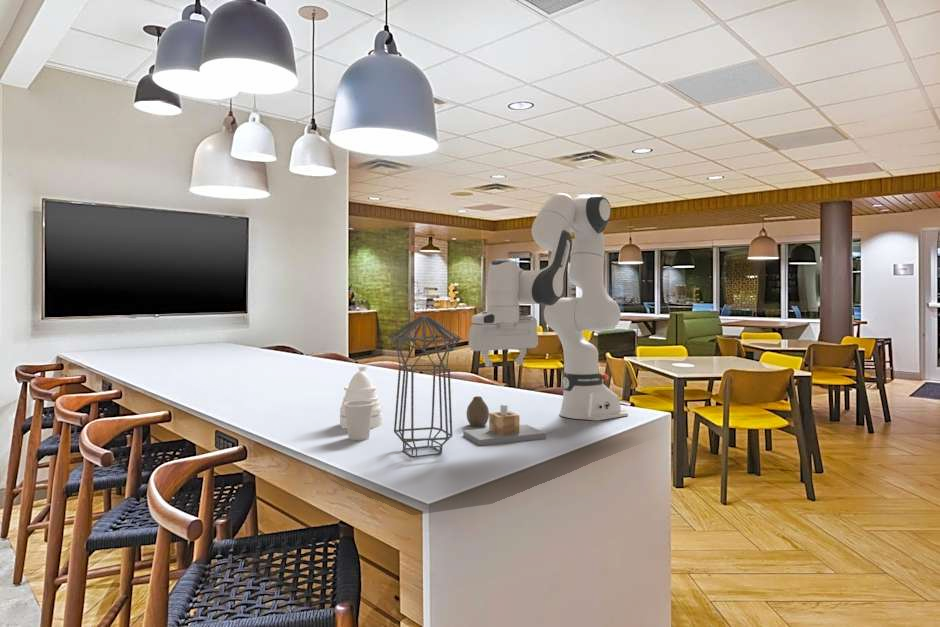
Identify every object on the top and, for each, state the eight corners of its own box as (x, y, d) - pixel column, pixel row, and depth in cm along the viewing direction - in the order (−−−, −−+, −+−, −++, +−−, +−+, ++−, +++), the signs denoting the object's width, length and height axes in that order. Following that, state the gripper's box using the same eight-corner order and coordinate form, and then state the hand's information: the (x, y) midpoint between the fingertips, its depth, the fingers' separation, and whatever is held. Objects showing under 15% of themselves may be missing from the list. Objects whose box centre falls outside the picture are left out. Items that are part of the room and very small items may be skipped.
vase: (462, 426, 181) (462, 397, 181) (473, 422, 187) (472, 394, 187) (482, 428, 178) (482, 399, 178) (492, 424, 184) (492, 396, 184)
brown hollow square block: (519, 433, 166) (519, 415, 165) (498, 435, 163) (498, 417, 163) (509, 428, 172) (509, 411, 171) (489, 430, 169) (489, 412, 169)
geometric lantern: (386, 448, 156) (387, 315, 156) (442, 443, 162) (444, 315, 162) (401, 462, 142) (402, 316, 141) (462, 457, 147) (464, 316, 147)
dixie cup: (347, 443, 162) (346, 406, 161) (341, 436, 169) (340, 401, 169) (377, 439, 165) (377, 404, 165) (369, 433, 173) (369, 399, 172)
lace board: (526, 429, 177) (526, 399, 176) (545, 438, 165) (545, 406, 165) (463, 435, 169) (463, 404, 169) (479, 445, 158) (479, 411, 158)
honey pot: (348, 420, 192) (347, 364, 191) (387, 421, 190) (386, 364, 189) (333, 429, 179) (332, 369, 179) (375, 430, 177) (374, 369, 177)
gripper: (531, 314, 173) (531, 362, 174) (466, 317, 165) (466, 366, 166) (541, 315, 167) (542, 364, 168) (474, 317, 160) (475, 369, 160)
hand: (504, 365), depth 167 cm, fingers open, 8 cm apart
